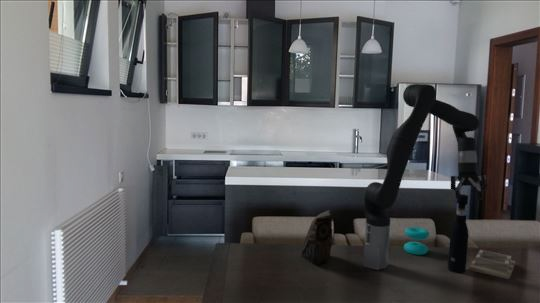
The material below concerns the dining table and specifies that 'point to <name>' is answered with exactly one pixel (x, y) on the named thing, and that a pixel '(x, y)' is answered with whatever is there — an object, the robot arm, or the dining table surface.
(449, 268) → the wine bottle
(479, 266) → the bottle stand
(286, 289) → the dining table surface
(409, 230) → the donuts
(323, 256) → the owl
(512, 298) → the dining table surface
